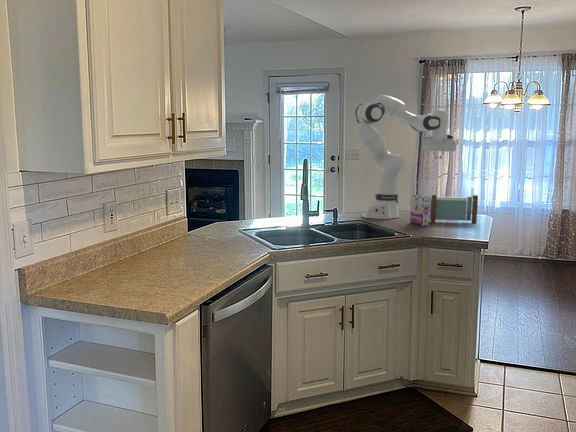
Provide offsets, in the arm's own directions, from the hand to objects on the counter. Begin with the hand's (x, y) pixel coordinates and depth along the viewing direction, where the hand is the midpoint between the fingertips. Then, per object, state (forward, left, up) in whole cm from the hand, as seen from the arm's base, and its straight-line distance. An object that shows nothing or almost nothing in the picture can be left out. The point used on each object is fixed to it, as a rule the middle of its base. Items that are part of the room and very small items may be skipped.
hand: (438, 158), depth 345 cm
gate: (+6, -28, -34) cm, 44 cm away
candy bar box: (-12, -38, -35) cm, 53 cm away
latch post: (-4, -31, -35) cm, 47 cm away
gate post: (+19, -28, -35) cm, 49 cm away
